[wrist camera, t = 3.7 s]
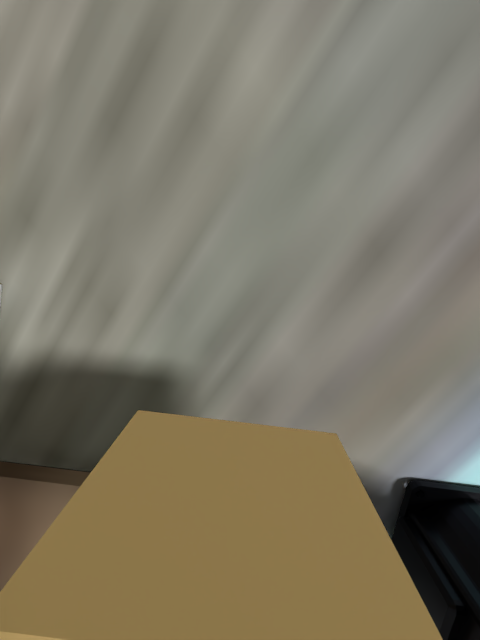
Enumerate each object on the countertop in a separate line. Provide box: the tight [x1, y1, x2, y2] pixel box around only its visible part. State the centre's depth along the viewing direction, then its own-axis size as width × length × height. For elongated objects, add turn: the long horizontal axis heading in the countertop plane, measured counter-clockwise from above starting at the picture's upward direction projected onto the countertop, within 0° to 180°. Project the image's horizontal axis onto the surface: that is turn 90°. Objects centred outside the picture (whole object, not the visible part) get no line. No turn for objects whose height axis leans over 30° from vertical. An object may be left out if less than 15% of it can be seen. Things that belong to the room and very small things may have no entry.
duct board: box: [0, 461, 91, 592], centre depth 17 cm, size 20×20×1 cm
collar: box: [0, 410, 443, 640], centre depth 6 cm, size 6×6×5 cm
